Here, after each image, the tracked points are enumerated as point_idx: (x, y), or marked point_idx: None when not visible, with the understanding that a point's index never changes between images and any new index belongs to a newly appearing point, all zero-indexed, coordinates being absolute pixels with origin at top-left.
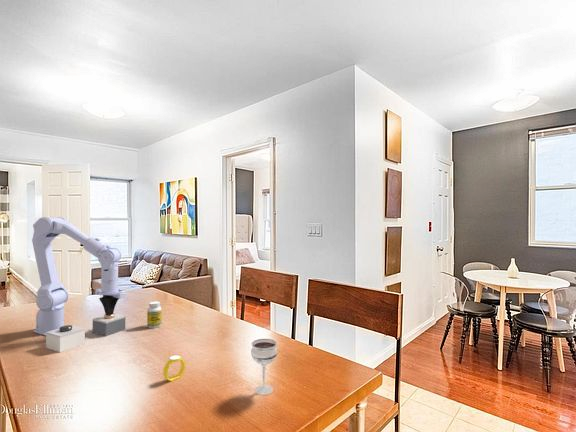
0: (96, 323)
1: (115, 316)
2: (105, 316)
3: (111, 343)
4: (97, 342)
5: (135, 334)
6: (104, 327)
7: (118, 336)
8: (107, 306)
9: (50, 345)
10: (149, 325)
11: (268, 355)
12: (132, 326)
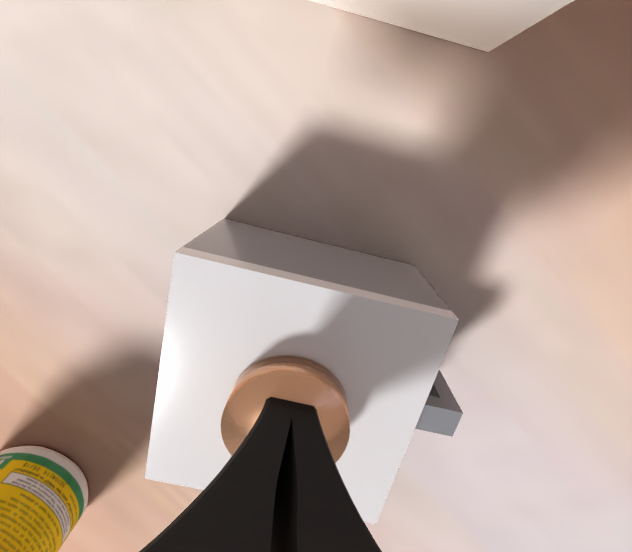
0: (373, 283)
1: None
2: (291, 372)
3: (20, 66)
4: (170, 56)
5: (19, 308)
6: (232, 242)
7: (114, 237)
8: (210, 494)
9: None
10: (22, 458)
11: None
12: None
